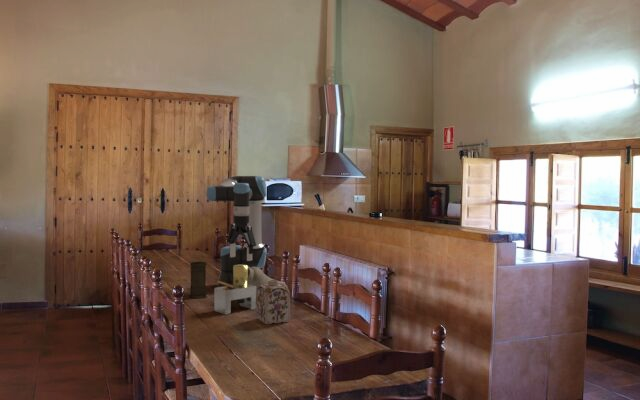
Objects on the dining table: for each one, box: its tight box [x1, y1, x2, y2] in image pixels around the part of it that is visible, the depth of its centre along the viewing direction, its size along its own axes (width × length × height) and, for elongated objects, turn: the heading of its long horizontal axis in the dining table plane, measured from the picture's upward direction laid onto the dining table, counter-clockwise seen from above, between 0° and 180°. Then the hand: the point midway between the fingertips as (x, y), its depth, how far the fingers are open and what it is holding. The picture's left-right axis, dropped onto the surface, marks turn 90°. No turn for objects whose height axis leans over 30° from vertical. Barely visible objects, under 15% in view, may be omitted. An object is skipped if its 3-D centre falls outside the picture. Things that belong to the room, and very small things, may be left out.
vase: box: [245, 264, 286, 299], centre depth 287 cm, size 22×22×28 cm
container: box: [189, 261, 208, 299], centre depth 293 cm, size 9×9×18 cm
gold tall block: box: [233, 264, 248, 304], centre depth 268 cm, size 7×7×18 cm
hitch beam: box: [213, 284, 257, 315], centre depth 266 cm, size 18×9×11 cm, turn 135°
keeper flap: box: [216, 280, 235, 288], centre depth 262 cm, size 7×6×1 cm
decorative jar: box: [256, 279, 291, 325], centre depth 247 cm, size 12×12×18 cm
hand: (241, 258), depth 267 cm, fingers open, 13 cm apart
